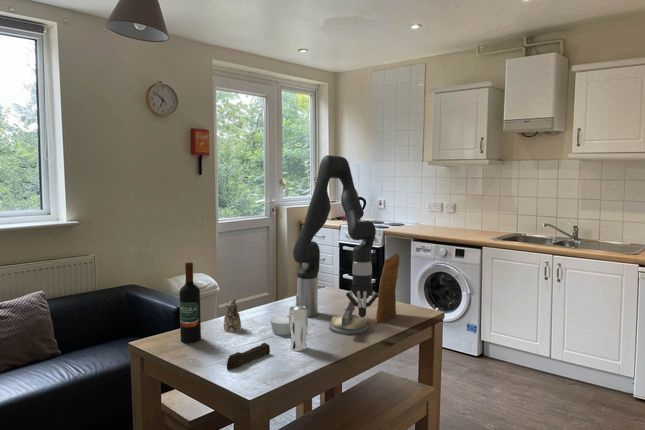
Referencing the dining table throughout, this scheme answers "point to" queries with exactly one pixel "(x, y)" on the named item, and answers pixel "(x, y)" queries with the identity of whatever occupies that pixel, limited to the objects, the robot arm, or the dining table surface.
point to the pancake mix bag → (388, 290)
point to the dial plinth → (348, 332)
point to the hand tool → (247, 356)
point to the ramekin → (280, 325)
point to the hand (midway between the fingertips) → (362, 316)
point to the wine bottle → (190, 309)
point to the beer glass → (298, 327)
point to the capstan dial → (348, 319)
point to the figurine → (232, 318)
